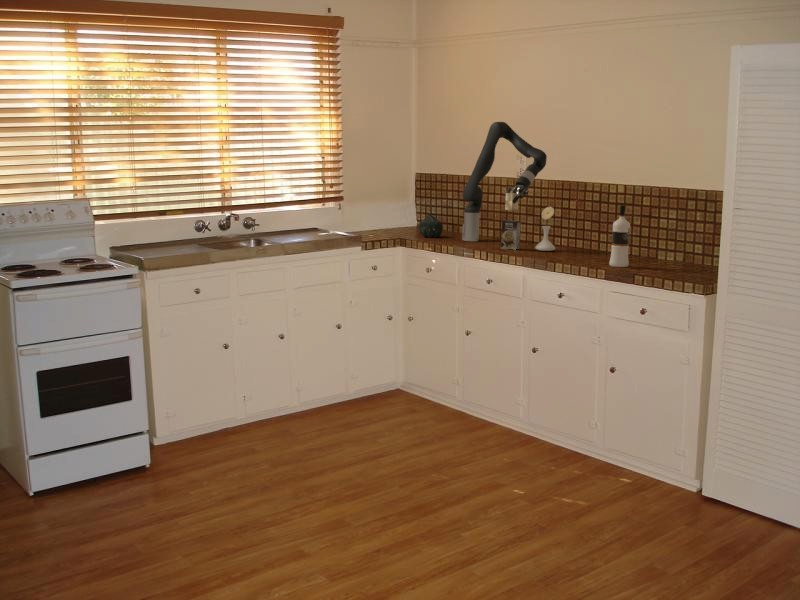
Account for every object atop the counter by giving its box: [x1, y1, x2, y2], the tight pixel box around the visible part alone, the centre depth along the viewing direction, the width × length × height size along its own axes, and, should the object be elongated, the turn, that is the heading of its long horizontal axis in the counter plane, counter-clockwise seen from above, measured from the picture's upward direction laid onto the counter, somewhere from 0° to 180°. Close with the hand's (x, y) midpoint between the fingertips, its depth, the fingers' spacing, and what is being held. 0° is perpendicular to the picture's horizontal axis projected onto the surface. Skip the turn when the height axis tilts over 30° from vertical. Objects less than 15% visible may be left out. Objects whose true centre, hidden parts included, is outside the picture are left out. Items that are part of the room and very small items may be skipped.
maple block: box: [504, 192, 519, 211], centre depth 495 cm, size 5×5×9 cm
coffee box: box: [500, 219, 522, 251], centre depth 498 cm, size 9×6×16 cm
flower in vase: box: [534, 206, 556, 252], centre depth 493 cm, size 13×11×25 cm
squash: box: [418, 214, 443, 238], centre depth 555 cm, size 14×15×15 cm
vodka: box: [608, 204, 631, 268], centre depth 433 cm, size 9×9×30 cm
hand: (509, 202), depth 494 cm, fingers closed on maple block, 5 cm apart
